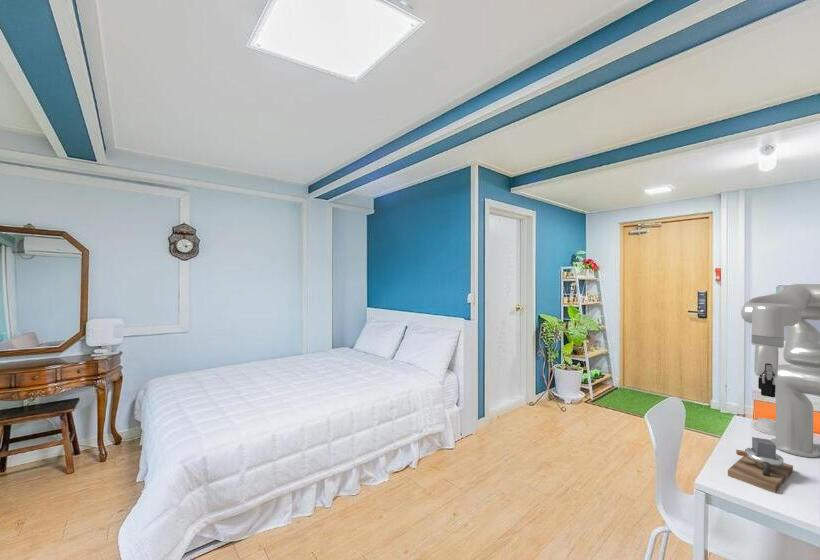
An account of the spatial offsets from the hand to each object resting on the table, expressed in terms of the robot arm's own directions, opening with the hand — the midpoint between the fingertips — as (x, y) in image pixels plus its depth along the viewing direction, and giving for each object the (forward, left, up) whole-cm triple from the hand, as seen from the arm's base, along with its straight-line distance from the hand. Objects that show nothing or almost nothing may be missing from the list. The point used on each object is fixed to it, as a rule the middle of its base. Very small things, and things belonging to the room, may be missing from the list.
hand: (766, 392), depth 115 cm
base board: (+2, -1, -27) cm, 27 cm away
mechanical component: (-44, -8, -27) cm, 53 cm away
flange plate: (+2, -1, -22) cm, 22 cm away
